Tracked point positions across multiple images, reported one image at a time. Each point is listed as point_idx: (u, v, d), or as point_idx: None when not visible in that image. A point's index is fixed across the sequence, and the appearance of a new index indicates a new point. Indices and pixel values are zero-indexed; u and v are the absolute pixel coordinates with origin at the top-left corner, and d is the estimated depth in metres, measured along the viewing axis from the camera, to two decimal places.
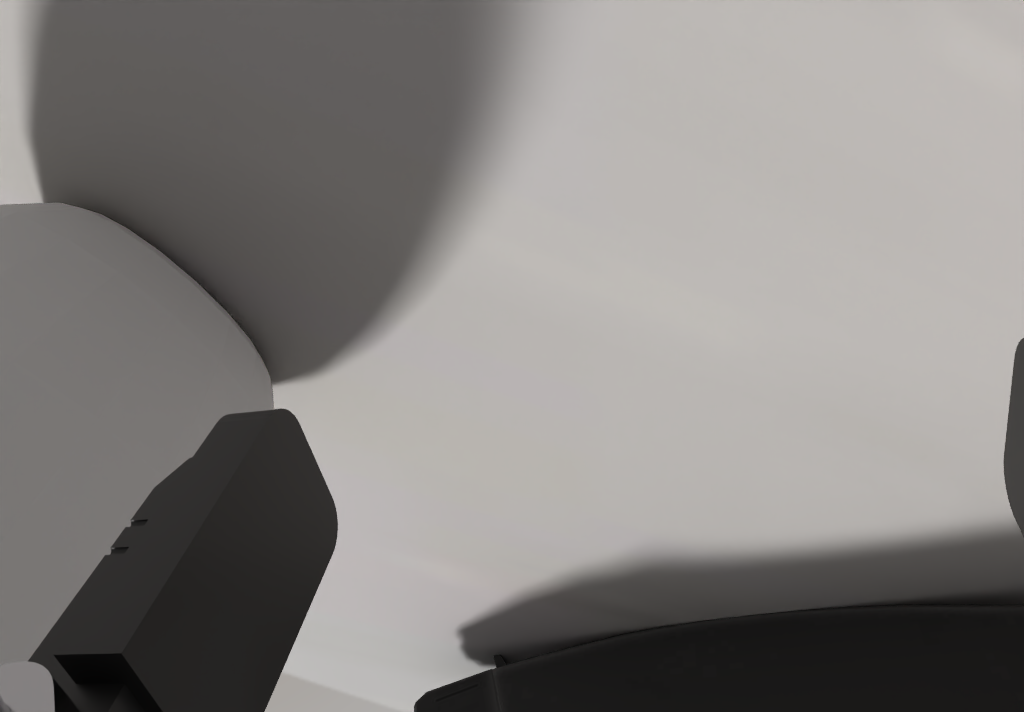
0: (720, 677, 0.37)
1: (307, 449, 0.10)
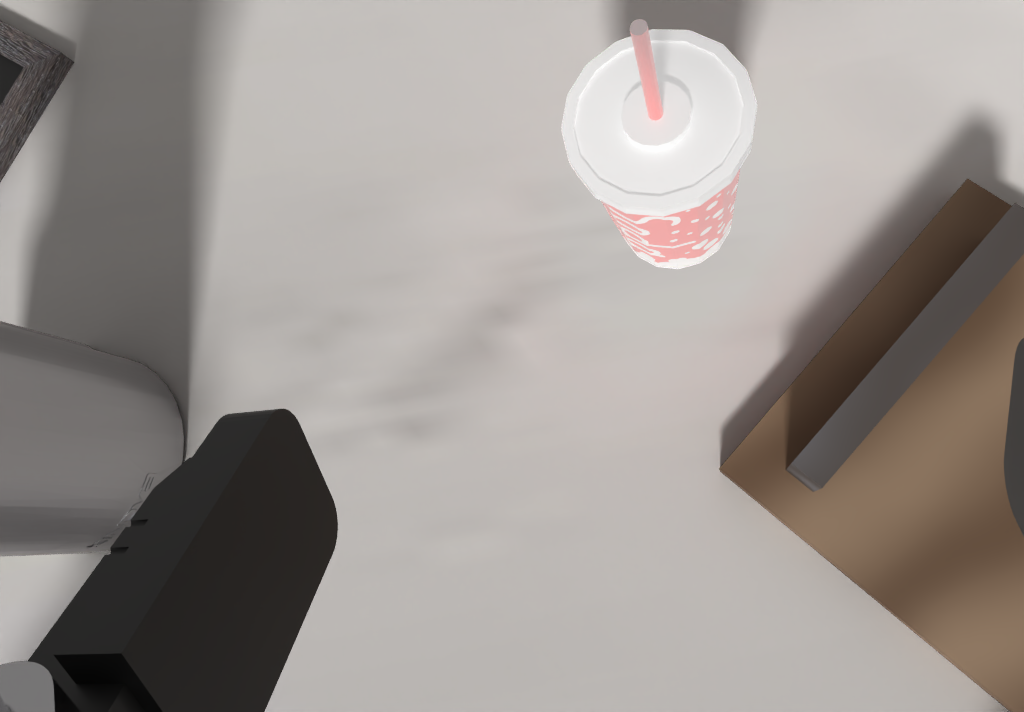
0: None
1: (307, 449, 0.10)
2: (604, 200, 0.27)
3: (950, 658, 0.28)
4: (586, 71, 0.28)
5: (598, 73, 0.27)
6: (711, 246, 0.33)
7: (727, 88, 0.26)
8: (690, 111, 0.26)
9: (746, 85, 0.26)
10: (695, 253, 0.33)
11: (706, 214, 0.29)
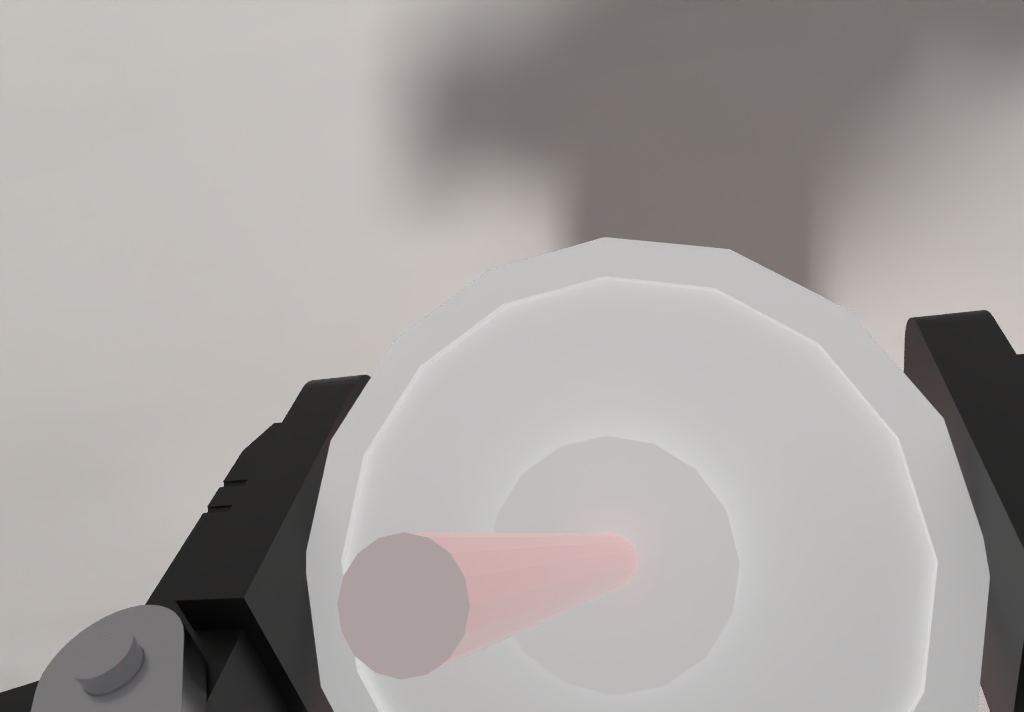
0: None
1: None
2: None
3: None
4: (392, 365, 0.09)
5: (430, 374, 0.08)
6: None
7: (868, 476, 0.07)
8: (735, 569, 0.07)
9: (944, 481, 0.07)
10: None
11: None
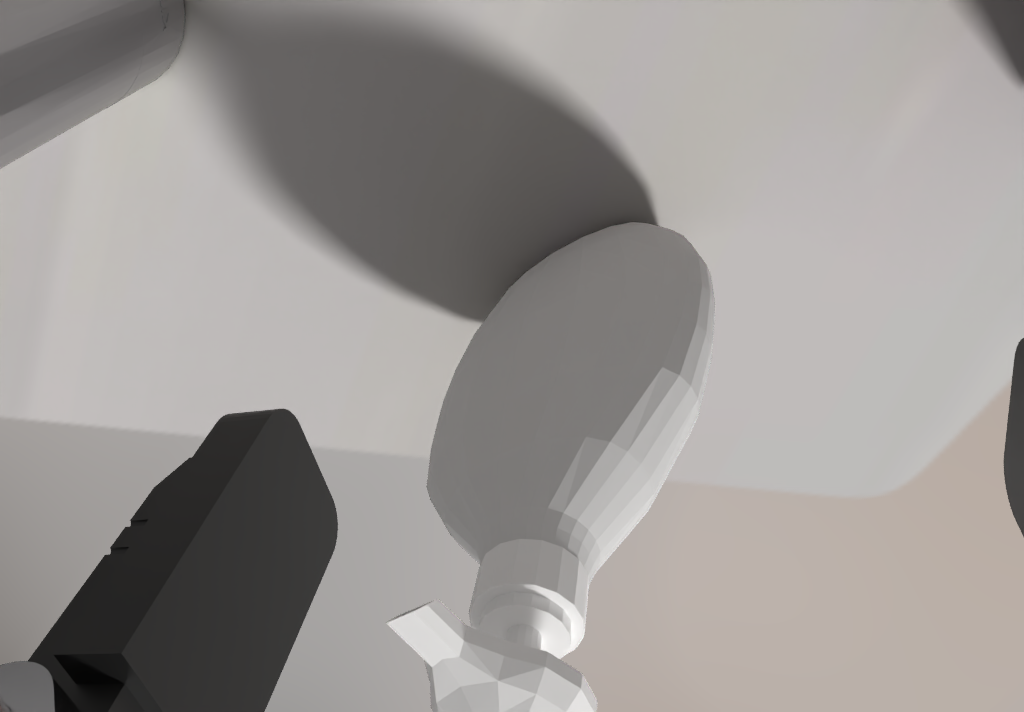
0: None
1: (307, 449, 0.10)
2: None
3: None
4: None
5: None
6: None
7: None
8: None
9: None
10: None
11: None
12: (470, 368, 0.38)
